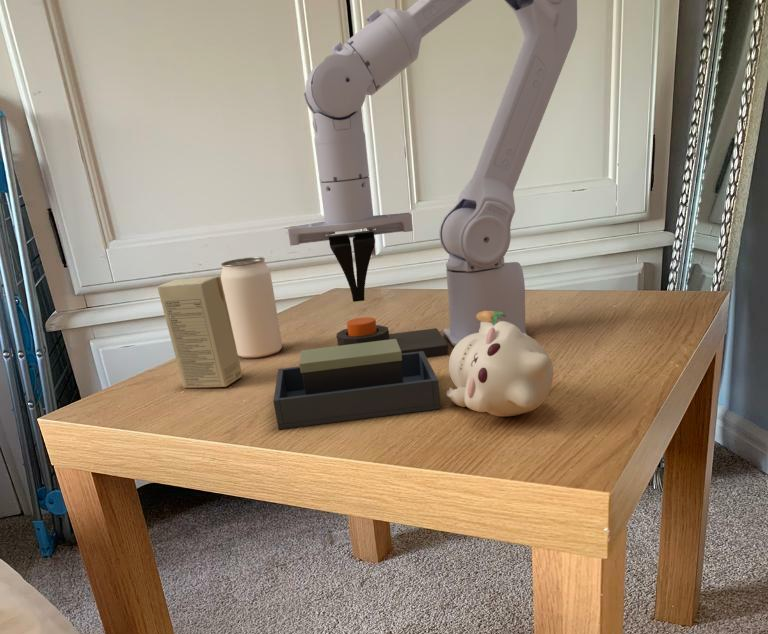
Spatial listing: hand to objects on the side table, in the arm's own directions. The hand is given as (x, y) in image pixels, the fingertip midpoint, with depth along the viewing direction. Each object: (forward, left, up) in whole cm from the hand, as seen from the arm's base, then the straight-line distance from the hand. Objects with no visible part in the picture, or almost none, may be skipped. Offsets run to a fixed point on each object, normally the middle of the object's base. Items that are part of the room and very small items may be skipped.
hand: (358, 299), depth 93 cm
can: (+14, -8, -7) cm, 18 cm away
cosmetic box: (+19, +4, -7) cm, 21 cm away
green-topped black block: (+2, +18, -6) cm, 19 cm away
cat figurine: (-12, +26, -7) cm, 30 cm away
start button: (0, 0, -4) cm, 4 cm away
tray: (+2, +18, -7) cm, 19 cm away
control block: (-4, 0, -7) cm, 8 cm away
